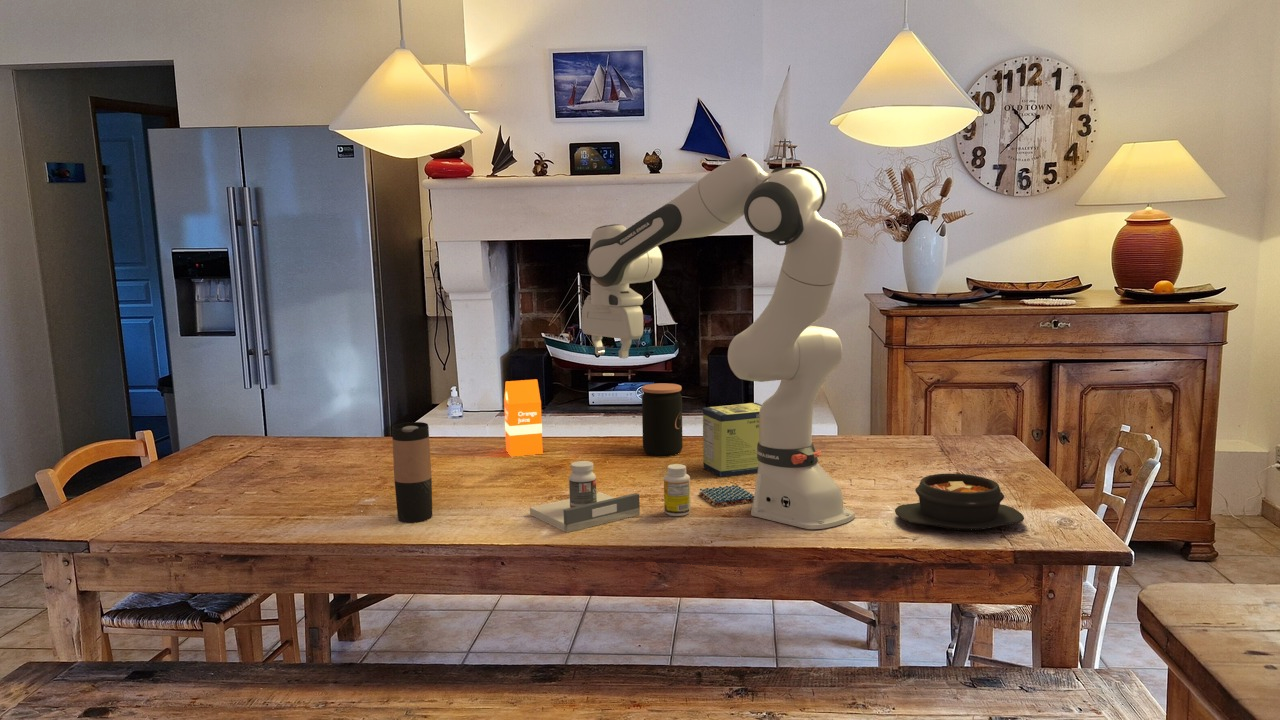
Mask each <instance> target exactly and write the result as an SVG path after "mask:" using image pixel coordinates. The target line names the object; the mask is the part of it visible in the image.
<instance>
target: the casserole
mask: <svg viewBox="0 0 1280 720" xmlns="http://www.w3.org/2000/svg"><path fill="white" fill-rule="evenodd" d="M915 493H916V495H917V496H918V500H919V502H913V503H906V504H899V505H898V506H897V507H895V510H894V512H895V514H896V516H897V517H899V518H900V519H902V520H904V521H905V522H908V523H910V524H916V525H925V526H934V527H938V528H941V529H945V530H950V531H958V530H959V531H961V532H962V531H963V532H967V531H968V532H971V531H982V530H985V529H992V528H996V527H1000V526H1004V525H1006V526H1008V525H1016V524H1019V523H1021V522H1024V520H1025V516H1024V515H1023V514H1022V513H1021V512H1020V511H1019V510H1017V509H1016V508H1013V507H1012V506H1009V505H1006V504H1001V502H1002V501H1003V500H1004V498H1005V495H1004V493H1003V492H1002V491H1001V488H1000V485H999V484H998V482H996V481H994V480H992V479H990V478H986V477H983V476H979V475H972V474H967V473H966V474H965V473H936V474H931V475H930V474H929V475H927V476H924V477H922V478H921V479H920V481H919V484H918V486H917V487H916V488H915Z"/></svg>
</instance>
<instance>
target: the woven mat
mask: <svg viewBox="0 0 1280 720" xmlns="http://www.w3.org/2000/svg"><path fill="white" fill-rule="evenodd" d="M699 490H700V491H699V493H698V496H700V497H701V498H702V499H703V500H705V502H706V501H707V502H706V503H710V504H711V505H712V506H713V507H715V508H721V507H722V506H723V507H729V506H737V505H746V504H752V502H753V499H754V494H753V493H752V492H749V491H748V490H746V489H745V488H743V487H741V486H740V485H734V484H731V486H729V485H725V486H724V487H722V486H720V485H719V487H715V486H714V487H711V488H709V487H706V488H704V489H702V488H699Z"/></svg>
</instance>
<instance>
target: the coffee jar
mask: <svg viewBox="0 0 1280 720" xmlns="http://www.w3.org/2000/svg"><path fill="white" fill-rule="evenodd" d="M682 389H683V388H682V385H680V384H677V383H669V382H668V383H663V382H662V383H660V382H659V383H657V382H656V383H650V384H649V383H648V384H645V385H642V386H641V390H642V392H643V394H642V396H641V412H642V413H641V416H642V417H641V418H642V419H641V421H642V422H641V423H642V424H641V425H642V427H641V428H642V449H643V451H644V453H645V454H646V455H648V456H651V455H652V457H657V456H666V457H671V456H670V455H674V456H676V455H675V454H677V455H679V454H681V451H682V450H683V396H682V394H681V391H682ZM678 453H679V454H678Z"/></svg>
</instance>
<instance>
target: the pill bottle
mask: <svg viewBox="0 0 1280 720" xmlns="http://www.w3.org/2000/svg"><path fill="white" fill-rule="evenodd" d="M570 469H571V472H572V473H570V475H569V477H568V485H569V486H568V487H569V491H568V492H569V499H570V508H573V507H577V506H581V505H586V504H590V503H595V502H597V494H596V493H597V476H596V473H594V472H593V470H594V462H593V461H588V460H578V461H574V462H572V463H571V464H570Z"/></svg>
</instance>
